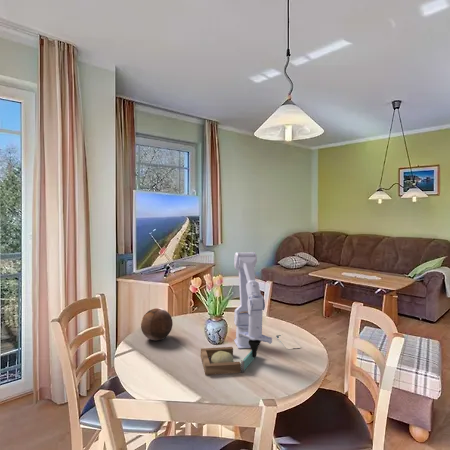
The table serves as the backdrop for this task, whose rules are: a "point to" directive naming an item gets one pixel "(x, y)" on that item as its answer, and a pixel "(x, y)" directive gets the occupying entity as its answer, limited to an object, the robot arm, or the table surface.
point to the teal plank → (246, 361)
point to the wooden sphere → (156, 324)
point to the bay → (218, 367)
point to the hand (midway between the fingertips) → (254, 356)
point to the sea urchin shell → (221, 357)
